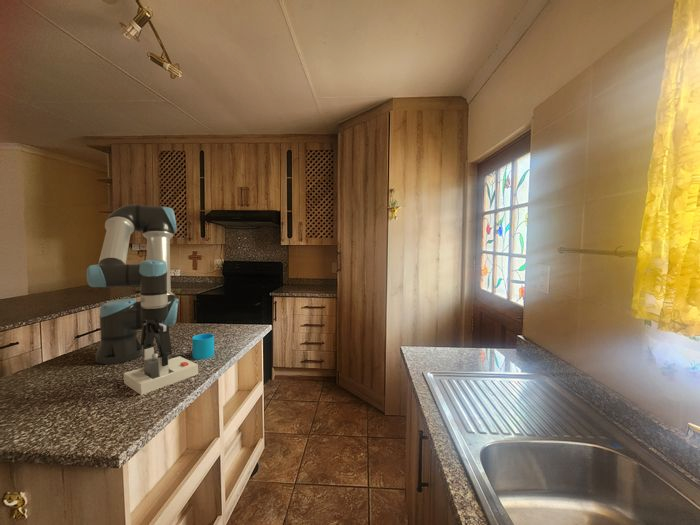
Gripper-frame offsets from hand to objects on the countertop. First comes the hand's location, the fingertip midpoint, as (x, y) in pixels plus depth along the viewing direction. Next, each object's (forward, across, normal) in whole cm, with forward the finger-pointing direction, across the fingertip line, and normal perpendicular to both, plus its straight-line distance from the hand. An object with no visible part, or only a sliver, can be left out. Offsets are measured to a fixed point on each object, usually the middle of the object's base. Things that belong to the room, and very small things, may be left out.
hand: (156, 370), depth 100 cm
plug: (+3, 0, 0) cm, 3 cm away
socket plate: (+4, 0, +2) cm, 4 cm away
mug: (+4, -10, +23) cm, 25 cm away
